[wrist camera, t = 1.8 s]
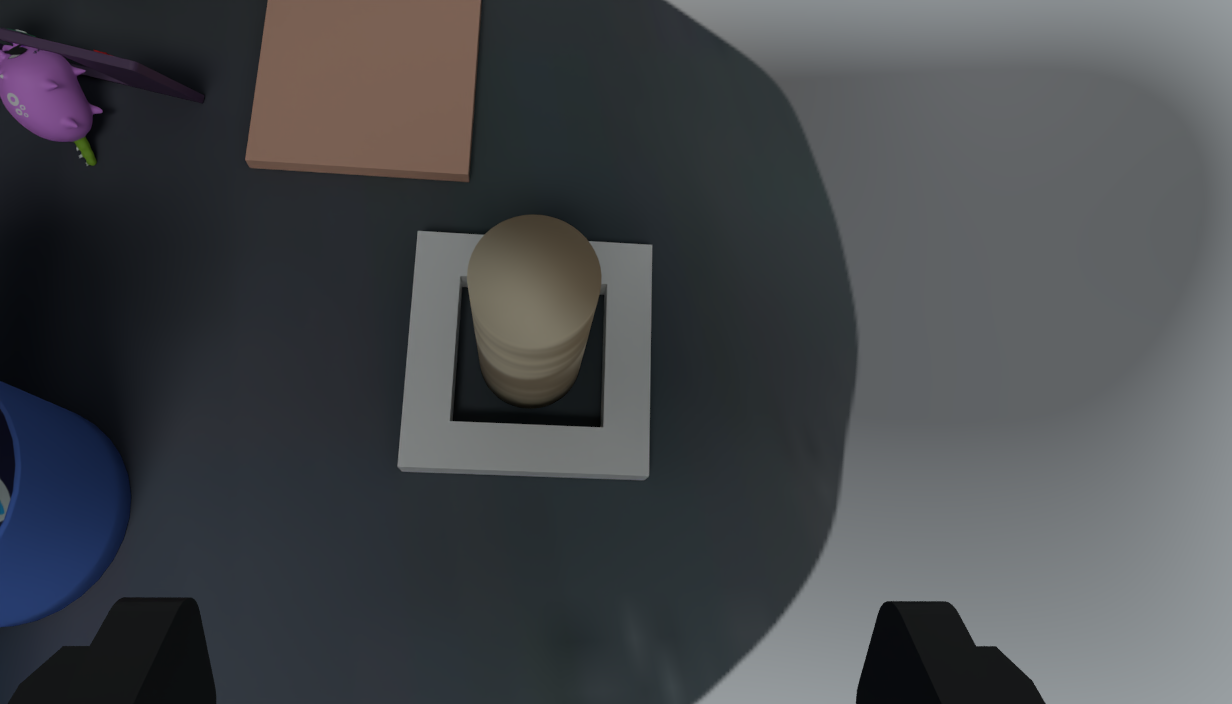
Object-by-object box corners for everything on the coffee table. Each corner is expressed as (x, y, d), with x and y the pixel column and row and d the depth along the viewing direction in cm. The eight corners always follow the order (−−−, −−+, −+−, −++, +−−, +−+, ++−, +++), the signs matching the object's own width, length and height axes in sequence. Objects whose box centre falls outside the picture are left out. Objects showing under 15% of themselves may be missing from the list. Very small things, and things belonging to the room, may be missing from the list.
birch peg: (533, 429, 41) (538, 368, 30) (458, 361, 41) (438, 279, 31) (600, 357, 42) (628, 274, 31) (527, 292, 42) (530, 189, 32)
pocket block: (644, 480, 41) (648, 475, 39) (401, 471, 40) (397, 466, 38) (647, 256, 43) (652, 244, 42) (421, 243, 42) (417, 230, 41)
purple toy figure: (139, 42, 37) (-89, -13, 36) (113, 172, 37) (-113, 119, 37) (209, 80, 43) (17, 34, 43) (187, 189, 44) (-4, 145, 43)
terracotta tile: (468, 182, 43) (468, 174, 43) (250, 167, 43) (245, 160, 42) (482, -2, 46) (481, -12, 45) (276, -19, 45) (272, -29, 44)
